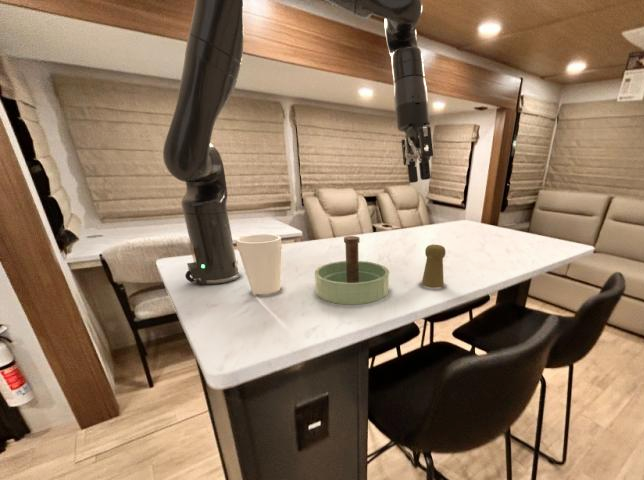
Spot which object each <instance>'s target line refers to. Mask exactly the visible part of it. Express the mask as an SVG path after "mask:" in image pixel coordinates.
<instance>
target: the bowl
mask: <svg viewBox="0 0 644 480" xmlns="http://www.w3.org/2000/svg"><path fill="white" fill-rule="evenodd" d="M346 280H347V279H346V260H342V261H335V262H330V263H325V264H323V265H321V266H319V267H317V268H316V269H315V271H314V281H315V293H316V295H317V297H319V298H320V299H321V300H323V301H325V302H329V303H333V304H338V305H350V306H351V305H363V304H369V303H373V302H377V301H380V300H381V299H383V298H385V297H386V296H387V295H388V294H389V291H390V271H389V269H388V268H387V267H386V266H385V265H382V264H380V263H375V262H371V261H366V260H359V280H360V281H361V282H359V283H344V281H346Z"/></svg>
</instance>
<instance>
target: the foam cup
mask: <svg viewBox="0 0 644 480" xmlns="http://www.w3.org/2000/svg"><path fill="white" fill-rule="evenodd" d="M235 244H236V249H237V252H238V253H239V256H240V260H241V262H242V265H243V268H244V271H245V275H246V277H247V280H248V281H247V282H248V284H249V287H250V291H251V293H252V295H254V296H256V297H257V296H258V295H270V294H274V293H277V292H279V291H280V290H281V289H282V288H281V286H282V284H281V282H282V279H281V278H282V277H281V276H282V249H283V243H282V236H280V235H279V234H270V233H257V234H248V235H242V236H239V237H236V239H235Z"/></svg>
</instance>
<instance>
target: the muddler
mask: <svg viewBox="0 0 644 480" xmlns="http://www.w3.org/2000/svg"><path fill="white" fill-rule="evenodd" d="M343 243H344V244H345V245H344V246H345V261H346V279H347V280H346V281H344V283H359V282H361V281H360V280H359V261H360V260H359V259H360V257H359V243H360V237H359V236H355V235H347V236H344V237H343Z"/></svg>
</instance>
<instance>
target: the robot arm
mask: <svg viewBox="0 0 644 480" xmlns="http://www.w3.org/2000/svg"><path fill="white" fill-rule="evenodd" d="M323 1H324V2H326V3H328V4H330V5H332V6H334V7H336V8H338V9H340V10H343V11H344V12H346V13H349V14H351V15H352V16H355V17H357V18H359V19H362V20H369V19H370V18H371V17H372V16H375V17H379V18H383V19H384V32H385V39H386V45H387V49H388V53H389V57H390V62H391V73H392V74H391V75H392V82H393V100H394V109H395V117H396V118H395V119H396V127H397V131H399V132H404V133H405V138H404V139H403V138H402V139H401V140H400V143H401V151H402V152H401V153H402V162H403V163H402V164H403V166H405V167H406V168H407V176H408V183H410V184H413V183H418V181H419V178H420V180H421V181H426V180H430V179H431V169H430V168H431V167H430V161H431V157H433V156H434V147H433V138H432V129H431V126H430V125H431V119H430V109H429V108H430V107H429V97H428V88H427V82H426V76H425V73H426V72H425V64H424V63H425V62H424V56H423V51H422V49H420V48H419V46H418V45H419V44H418V39H417V27H418V25H419V22H420V19H421V17H422V14H423V0H323ZM190 22H191V23H190V27H189V31H188V36H187V40H186V46H185V53H184V61H183V67H182V73H181V77H180V82H179V83H180V84H179V88H178V94H177V100H176V105H175V109H174V112H173V116H172V119H171V122H170V126H169V128H168V131H167V134H166V136H165V141H164V144H163V149H162V158H163V162H164V165H165V167H166V169H167V171H168V172H169V173H170V175H171V176H173V178H175V179H177V180H179V181H181V182H183V183H185V188H186V190H185V193H184V196H183V198H182V199H181V202H180V203H181V208H182V213H183V217H184V221H185V225H186V230H187V234H188V239H189V248H190V252H191V256H192V261H193V262H188V263H186V264H187V269H188V270H187V271H186V272H185V279H186V280H187V281H188V282H190V283H194V282H195V280H198V282H199V283H200V284H201V285H215V284H217V285H219V284H224V283H230V282H232V281H235V280H237V279H239V277H240V273H239V268H238V266H239V262H238V259H237V257H236V252H235V247H234V242H233V236H232V230H231V225H230V219H229V214H228V207H227V201H228V188H227V181H226V173H225V168H224V162H223V159H222V156H221V154H220V152H219V151H218V149H217V148H216V147H215V146H214V145H213V144H212V143H211V142H212V141H211V140H212V134H213V131H214V127H215V124H216V122H217V119H218V117H219V116H220V114H221V112H222V111H223V109H224V108H225V106H226V104H227V103H228V102H229V100H230V98H231V97H232V95H233V93H234V90H235V88H236V86H237V81H238V78H239V74H240V70H241V65H242V62H243V61H242V60H243V54H244V53H243V52H244V0H194V6H193V11H192V18H191V21H190ZM417 163H418V166H417ZM417 167H418V168H417ZM418 169H419V177H418Z"/></svg>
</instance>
